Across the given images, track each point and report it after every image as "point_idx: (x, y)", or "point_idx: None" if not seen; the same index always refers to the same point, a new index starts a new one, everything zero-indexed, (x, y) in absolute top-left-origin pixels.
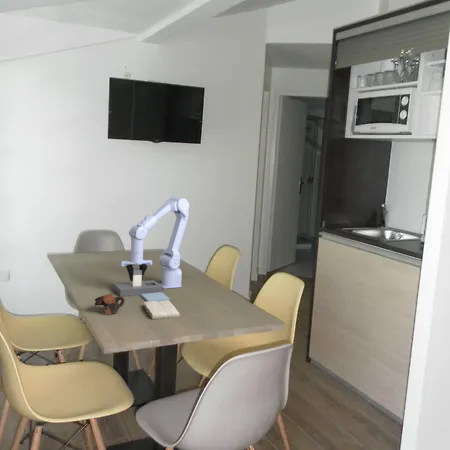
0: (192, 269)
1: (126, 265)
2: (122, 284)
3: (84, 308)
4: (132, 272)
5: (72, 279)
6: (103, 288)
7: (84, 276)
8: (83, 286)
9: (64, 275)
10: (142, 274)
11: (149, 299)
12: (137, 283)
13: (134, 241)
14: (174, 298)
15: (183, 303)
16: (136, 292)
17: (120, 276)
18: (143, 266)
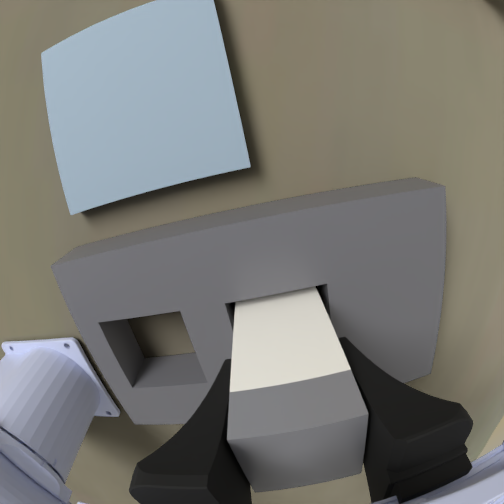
0: None
1: (471, 466)
2: (389, 346)
3: None
4: (376, 395)
5: (481, 435)
6: (450, 355)
7: None
8: (499, 371)
9: (475, 458)
10: (218, 401)
11: (196, 3)
12: (277, 317)
13: None
14: (16, 111)
15: (3, 23)
16: (291, 203)
17: (306, 495)
18: (196, 491)
